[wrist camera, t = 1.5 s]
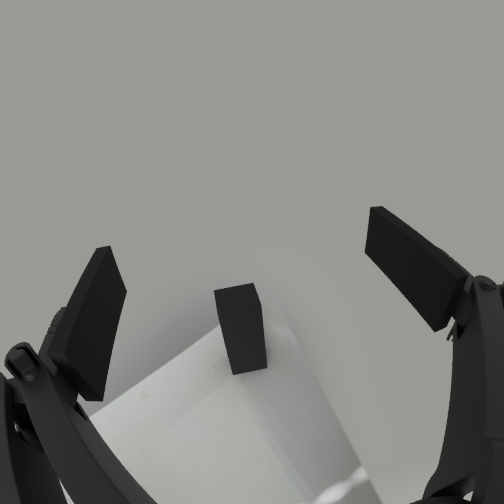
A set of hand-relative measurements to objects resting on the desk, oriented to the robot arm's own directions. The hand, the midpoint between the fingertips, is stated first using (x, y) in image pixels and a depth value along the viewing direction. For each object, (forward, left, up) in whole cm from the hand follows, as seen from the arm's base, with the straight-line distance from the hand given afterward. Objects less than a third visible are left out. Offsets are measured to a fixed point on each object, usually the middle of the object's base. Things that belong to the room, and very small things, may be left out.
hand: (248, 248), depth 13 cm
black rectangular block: (+4, -8, -20) cm, 22 cm away
